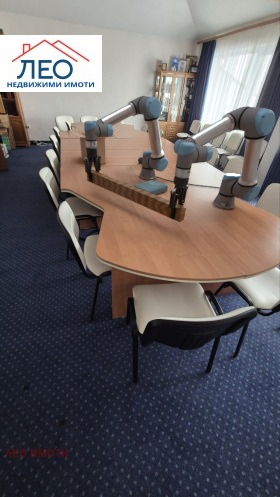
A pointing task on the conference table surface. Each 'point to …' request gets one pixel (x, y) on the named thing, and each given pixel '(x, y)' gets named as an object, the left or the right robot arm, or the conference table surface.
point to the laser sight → (140, 160)
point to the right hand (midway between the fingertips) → (174, 217)
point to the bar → (137, 195)
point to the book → (152, 187)
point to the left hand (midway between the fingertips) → (93, 181)
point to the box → (99, 147)
